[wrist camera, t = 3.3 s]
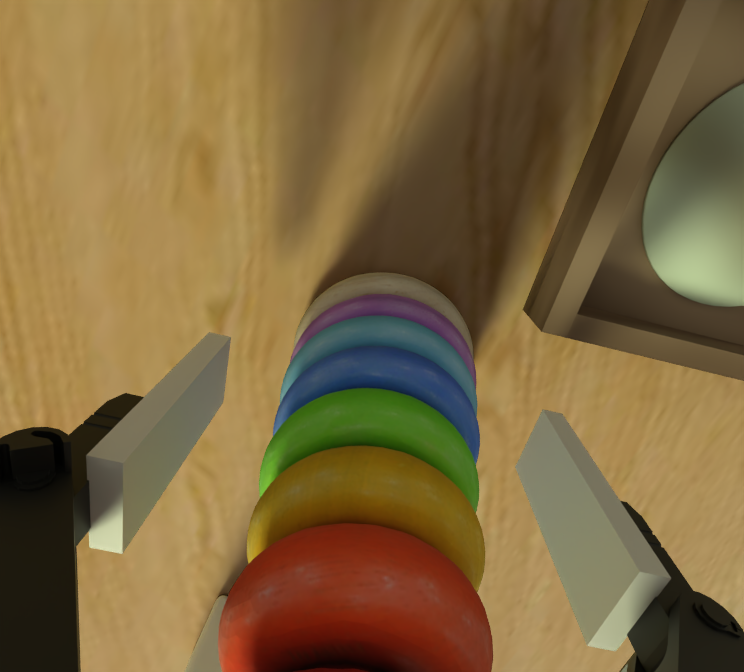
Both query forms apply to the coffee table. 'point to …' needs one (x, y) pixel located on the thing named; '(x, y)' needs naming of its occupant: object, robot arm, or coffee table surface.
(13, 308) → the coffee table surface
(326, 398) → the stacking toy
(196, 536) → the coffee table surface
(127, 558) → the coffee table surface
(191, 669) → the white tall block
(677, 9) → the base tray
